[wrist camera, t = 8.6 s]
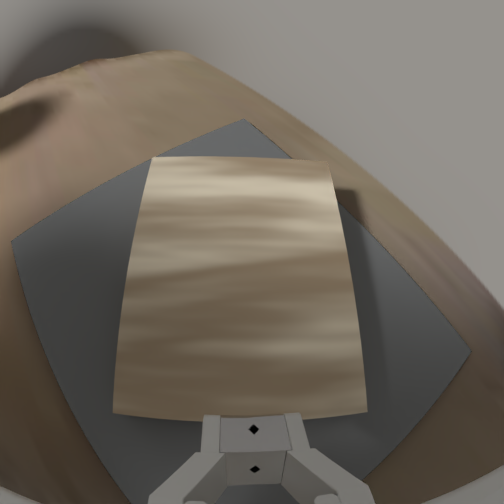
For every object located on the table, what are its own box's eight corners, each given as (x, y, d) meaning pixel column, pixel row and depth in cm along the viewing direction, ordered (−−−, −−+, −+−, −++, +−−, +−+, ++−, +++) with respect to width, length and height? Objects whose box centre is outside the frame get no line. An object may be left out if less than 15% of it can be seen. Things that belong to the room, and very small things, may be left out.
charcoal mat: (204, 577, 10) (204, 581, 9) (14, 244, 19) (11, 241, 19) (467, 353, 17) (471, 350, 17) (243, 123, 27) (244, 118, 26)
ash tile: (367, 412, 13) (327, 161, 21) (112, 413, 12) (152, 157, 20) (350, 413, 15) (320, 183, 23) (127, 414, 14) (157, 179, 22)
